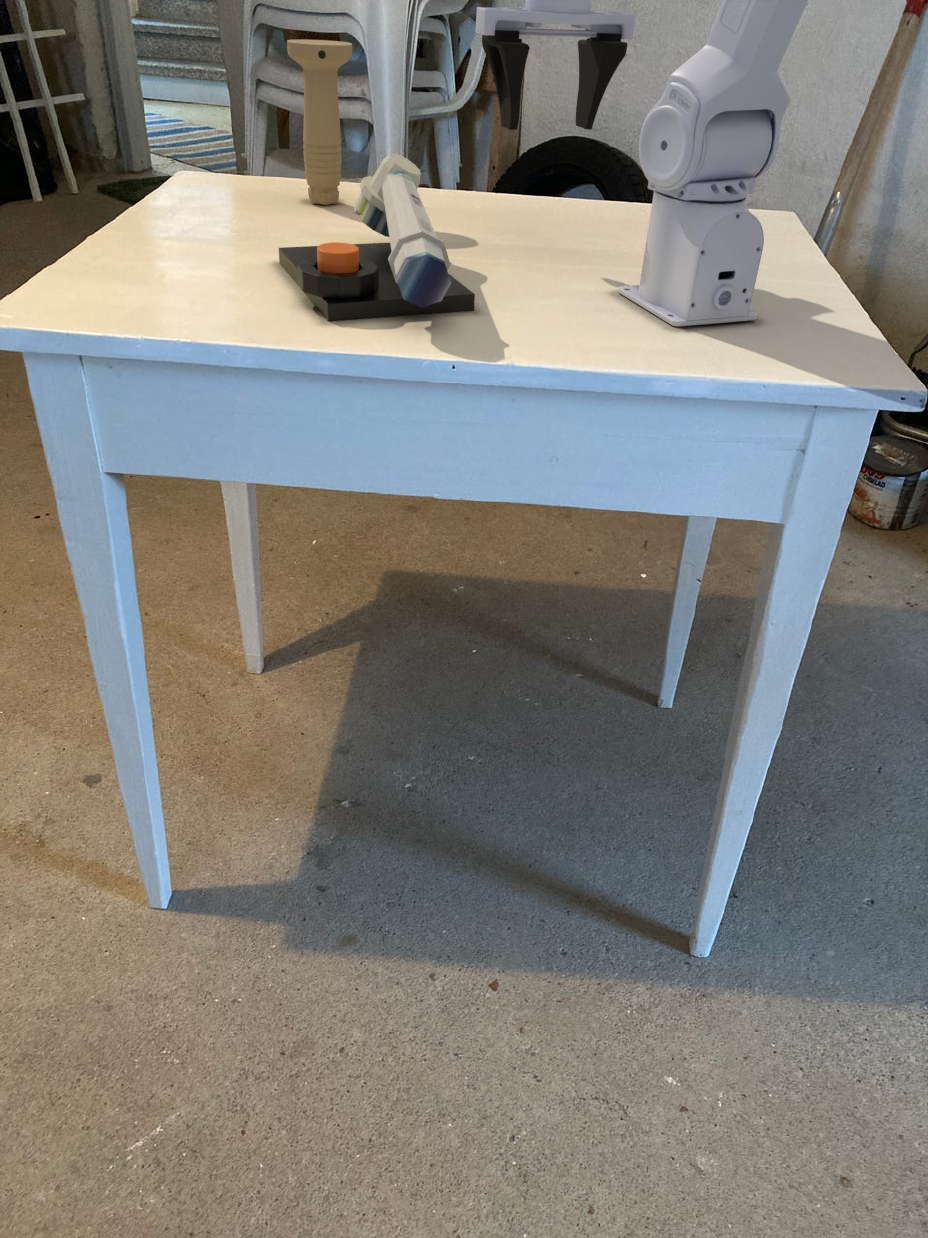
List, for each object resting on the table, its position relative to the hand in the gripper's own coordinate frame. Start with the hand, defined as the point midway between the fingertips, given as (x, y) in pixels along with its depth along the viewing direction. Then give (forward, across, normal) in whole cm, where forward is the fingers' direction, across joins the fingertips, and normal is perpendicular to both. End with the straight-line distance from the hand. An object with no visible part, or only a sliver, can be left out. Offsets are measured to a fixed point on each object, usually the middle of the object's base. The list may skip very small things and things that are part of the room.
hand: (546, 127), depth 91 cm
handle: (+11, +16, -20) cm, 28 cm away
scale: (+10, +20, +10) cm, 25 cm away
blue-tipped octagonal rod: (+8, +18, +10) cm, 22 cm away
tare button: (+8, +24, +14) cm, 29 cm away
